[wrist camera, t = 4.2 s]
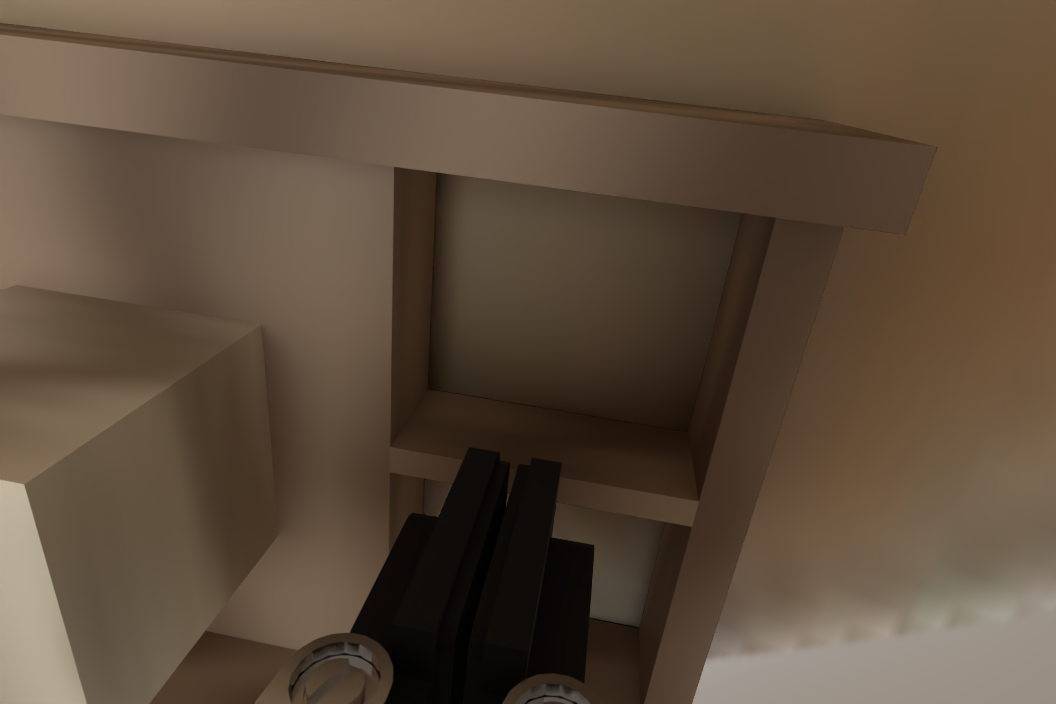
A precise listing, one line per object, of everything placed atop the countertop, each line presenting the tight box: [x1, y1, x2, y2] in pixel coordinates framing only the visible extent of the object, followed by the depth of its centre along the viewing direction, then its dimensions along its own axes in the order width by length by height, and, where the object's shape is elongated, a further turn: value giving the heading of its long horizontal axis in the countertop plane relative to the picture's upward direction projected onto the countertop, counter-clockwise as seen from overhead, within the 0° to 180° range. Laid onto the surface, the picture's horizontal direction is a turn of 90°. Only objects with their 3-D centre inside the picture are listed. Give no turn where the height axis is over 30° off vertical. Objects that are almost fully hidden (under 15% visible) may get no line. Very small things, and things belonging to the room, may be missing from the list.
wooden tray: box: [0, 23, 937, 704], centre depth 13 cm, size 28×14×6 cm, turn 84°
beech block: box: [0, 285, 278, 704], centre depth 11 cm, size 5×5×5 cm
